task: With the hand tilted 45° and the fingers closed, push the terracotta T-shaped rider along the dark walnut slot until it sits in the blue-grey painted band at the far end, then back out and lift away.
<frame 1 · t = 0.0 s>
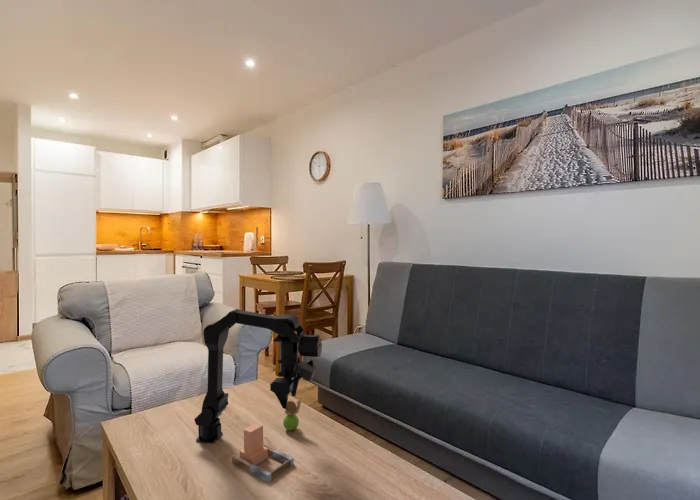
hand: (289, 402, 131), 15 cm above the table, tool pointing down, fingers open, 9 cm apart
beam slot: (263, 463, 122), on the table
rider: (253, 443, 124), point 5 cm above the table, slide at 0.0 cm
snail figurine: (292, 430, 142), on the table
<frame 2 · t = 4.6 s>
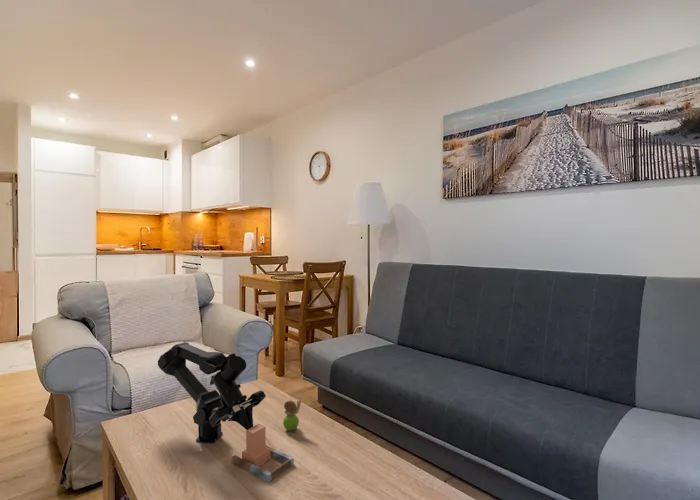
hand: (251, 431, 124), 9 cm above the table, tool tilted 45°, fingers closed, pressing on rider
rider: (256, 444, 123), point 5 cm above the table, slide at 1.1 cm, touching gripper
everything else where it was.
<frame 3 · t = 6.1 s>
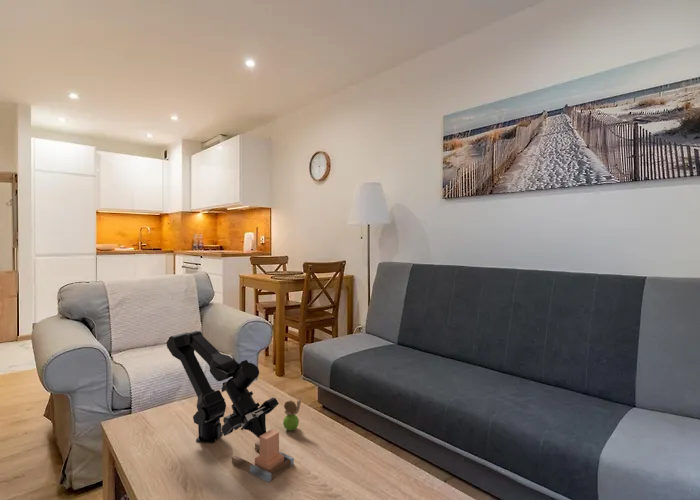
hand: (265, 440, 121), 8 cm above the table, tool tilted 45°, fingers closed, pressing on rider
rider: (269, 450, 120), point 5 cm above the table, slide at 6.8 cm, touching gripper
everything else where it was.
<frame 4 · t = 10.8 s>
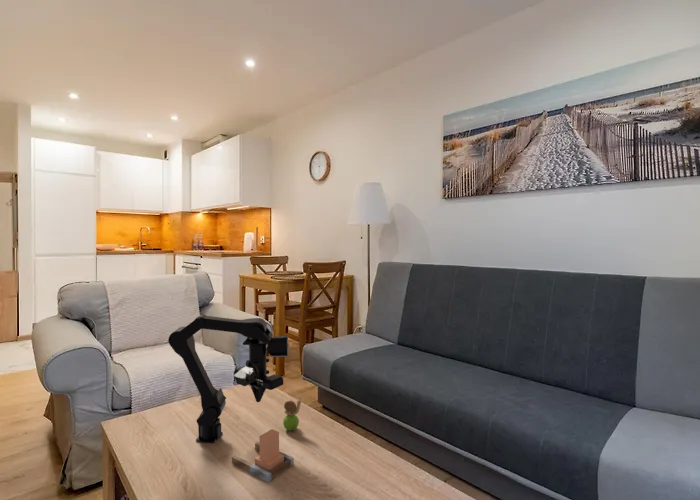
hand: (258, 401, 137), 12 cm above the table, tool pointing down, fingers closed
rider: (269, 450, 120), point 5 cm above the table, slide at 6.8 cm
everything else where it was.
at the end: rider slide at 6.8 cm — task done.
